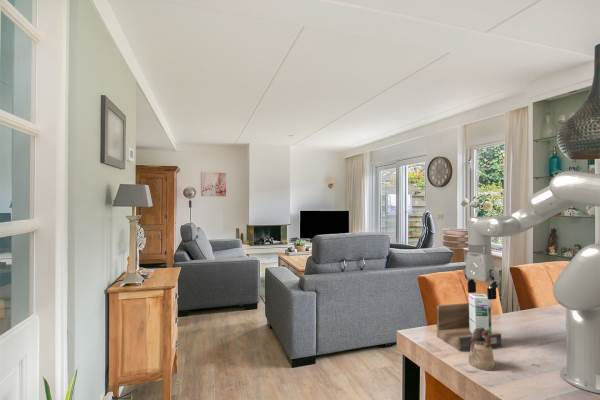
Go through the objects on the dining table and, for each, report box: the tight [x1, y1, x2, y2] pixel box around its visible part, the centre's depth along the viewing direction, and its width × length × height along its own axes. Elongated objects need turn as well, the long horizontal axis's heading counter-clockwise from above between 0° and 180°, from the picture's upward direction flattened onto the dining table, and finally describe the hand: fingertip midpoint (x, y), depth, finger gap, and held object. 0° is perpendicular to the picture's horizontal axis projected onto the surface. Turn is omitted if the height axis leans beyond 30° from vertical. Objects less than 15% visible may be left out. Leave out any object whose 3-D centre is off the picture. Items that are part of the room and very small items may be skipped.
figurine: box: [468, 327, 496, 371], centre depth 101 cm, size 7×7×12 cm
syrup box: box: [468, 293, 493, 335], centre depth 118 cm, size 6×6×14 cm
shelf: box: [436, 302, 502, 352], centre depth 119 cm, size 13×17×12 cm
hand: (481, 295), depth 118 cm, fingers open, 9 cm apart
